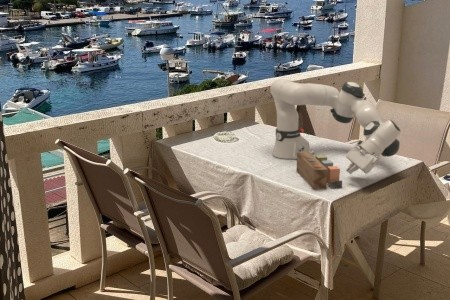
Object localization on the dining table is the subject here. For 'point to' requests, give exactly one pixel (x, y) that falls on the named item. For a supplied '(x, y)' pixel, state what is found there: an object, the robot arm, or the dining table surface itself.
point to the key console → (314, 171)
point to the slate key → (327, 163)
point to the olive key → (321, 158)
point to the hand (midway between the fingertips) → (348, 172)
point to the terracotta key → (333, 174)
